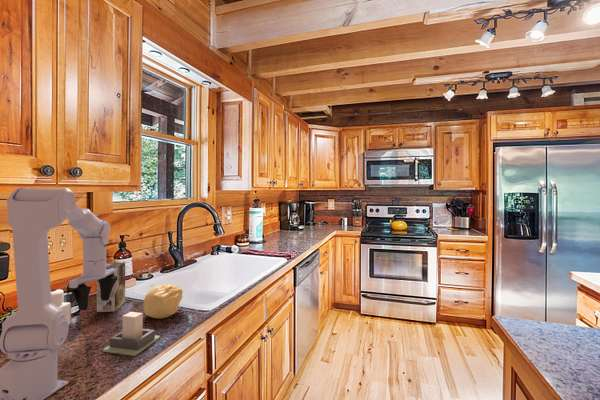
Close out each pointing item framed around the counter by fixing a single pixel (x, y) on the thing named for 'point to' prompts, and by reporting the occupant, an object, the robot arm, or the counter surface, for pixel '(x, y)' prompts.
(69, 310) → the white stepped block
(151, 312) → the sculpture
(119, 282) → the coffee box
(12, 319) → the robot arm
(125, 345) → the socket board
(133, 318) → the keyed plug
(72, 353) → the counter surface
